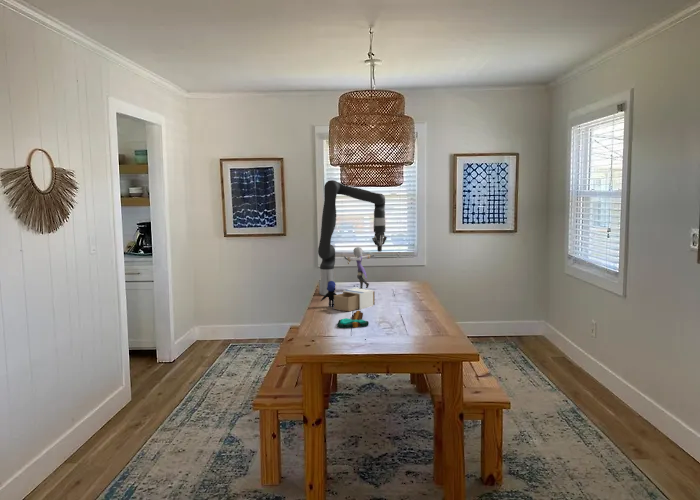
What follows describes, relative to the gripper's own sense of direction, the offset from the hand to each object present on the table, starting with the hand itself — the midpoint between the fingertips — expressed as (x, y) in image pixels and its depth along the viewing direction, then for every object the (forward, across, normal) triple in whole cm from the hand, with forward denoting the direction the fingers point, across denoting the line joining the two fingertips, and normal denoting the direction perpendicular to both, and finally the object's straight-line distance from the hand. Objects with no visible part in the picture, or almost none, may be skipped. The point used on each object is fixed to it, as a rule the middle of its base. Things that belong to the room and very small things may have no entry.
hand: (379, 251), depth 358 cm
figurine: (+29, -8, -24) cm, 39 cm away
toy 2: (+30, +64, +32) cm, 77 cm away
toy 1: (+29, +43, -3) cm, 52 cm away
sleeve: (+29, +34, +10) cm, 46 cm away
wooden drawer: (+29, +37, +10) cm, 48 cm away
